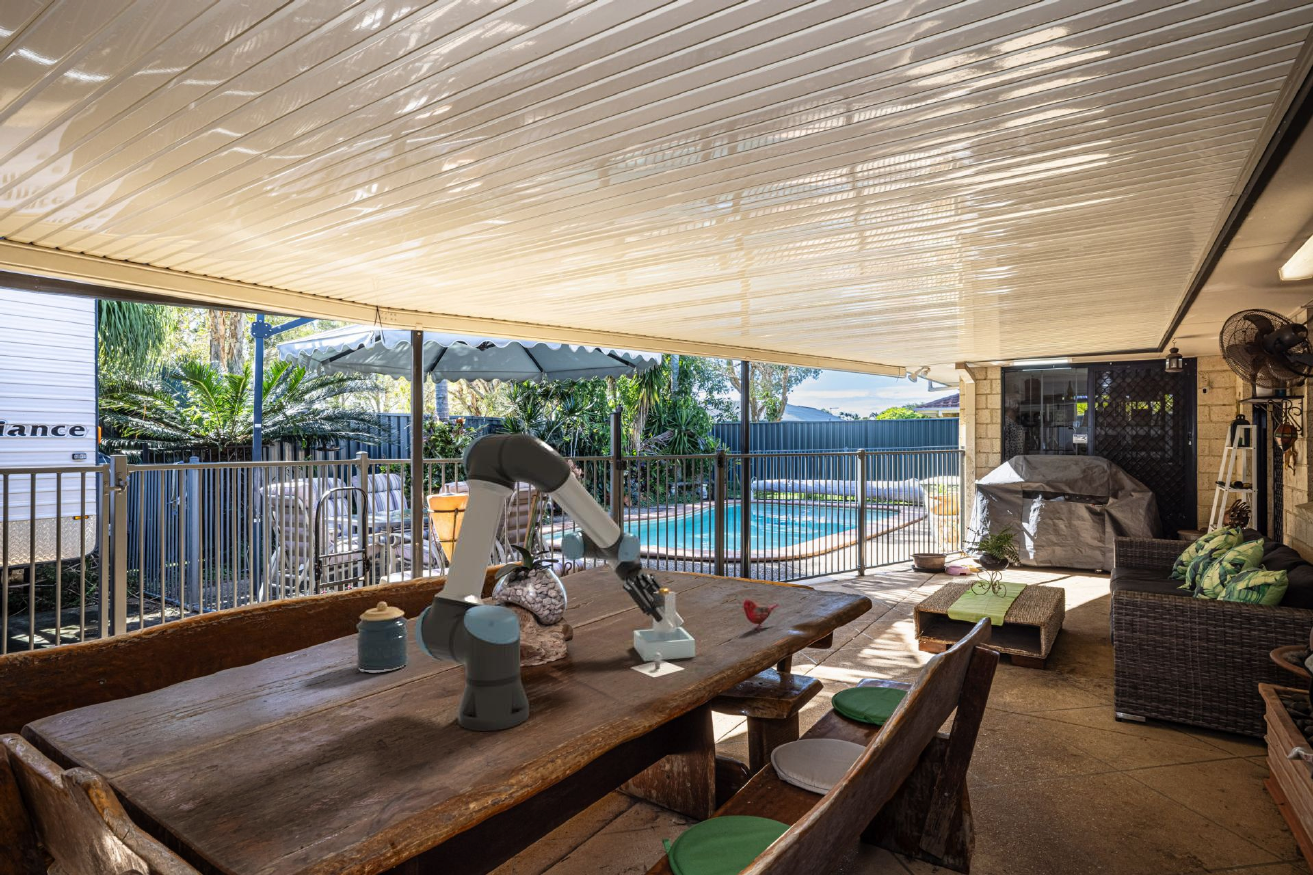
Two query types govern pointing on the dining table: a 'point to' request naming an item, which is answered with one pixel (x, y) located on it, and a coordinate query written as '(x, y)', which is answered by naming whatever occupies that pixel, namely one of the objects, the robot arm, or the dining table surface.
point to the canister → (382, 638)
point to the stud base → (657, 667)
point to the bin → (664, 645)
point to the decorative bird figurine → (757, 612)
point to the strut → (668, 607)
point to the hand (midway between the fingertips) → (675, 626)
